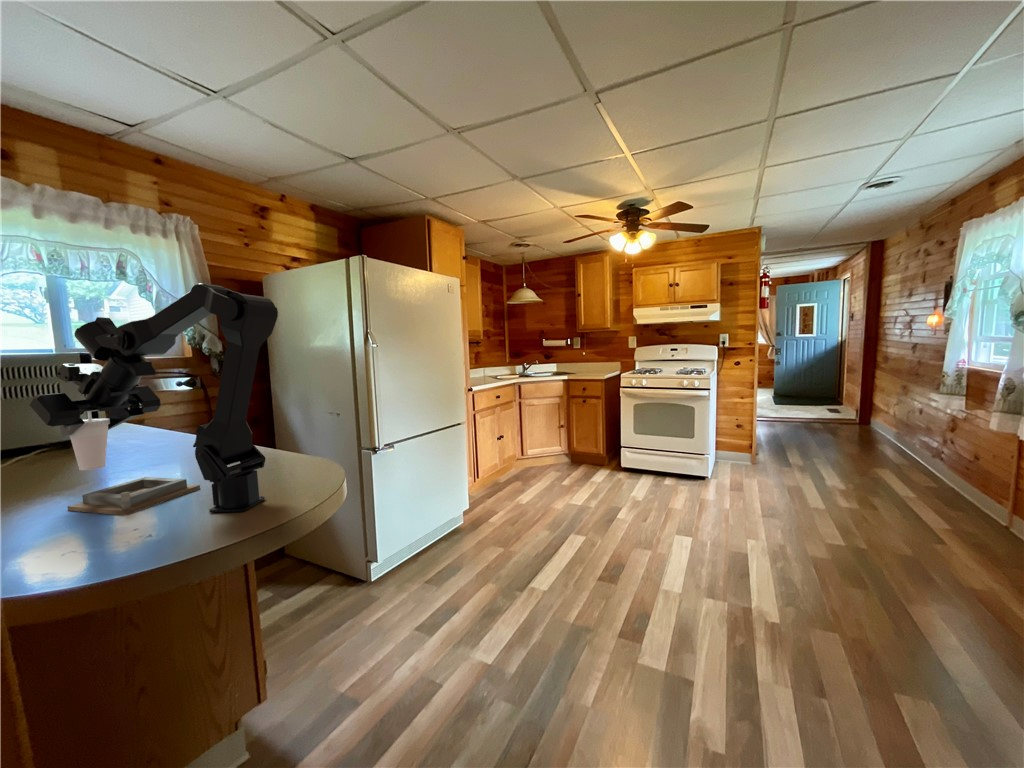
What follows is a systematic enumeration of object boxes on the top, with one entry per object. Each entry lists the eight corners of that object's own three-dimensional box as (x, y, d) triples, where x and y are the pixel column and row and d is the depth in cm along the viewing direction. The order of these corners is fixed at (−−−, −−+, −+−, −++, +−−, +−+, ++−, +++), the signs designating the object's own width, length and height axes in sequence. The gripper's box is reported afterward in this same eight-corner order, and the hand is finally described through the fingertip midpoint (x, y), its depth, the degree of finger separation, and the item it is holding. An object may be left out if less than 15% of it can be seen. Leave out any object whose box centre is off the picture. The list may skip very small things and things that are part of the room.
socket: (200, 488, 87) (198, 471, 87) (125, 515, 74) (123, 494, 73) (148, 485, 90) (146, 468, 90) (67, 510, 77) (65, 490, 76)
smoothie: (85, 472, 80) (78, 401, 79) (60, 471, 81) (53, 401, 80) (122, 464, 86) (116, 397, 85) (98, 463, 88) (92, 397, 87)
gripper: (145, 348, 90) (112, 399, 94) (29, 349, 72) (-6, 412, 75) (177, 383, 89) (143, 433, 92) (68, 393, 71) (31, 455, 74)
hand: (84, 432), depth 84 cm, fingers closed on smoothie, 6 cm apart
